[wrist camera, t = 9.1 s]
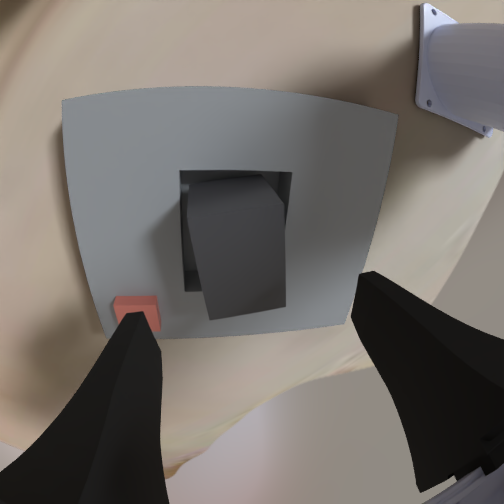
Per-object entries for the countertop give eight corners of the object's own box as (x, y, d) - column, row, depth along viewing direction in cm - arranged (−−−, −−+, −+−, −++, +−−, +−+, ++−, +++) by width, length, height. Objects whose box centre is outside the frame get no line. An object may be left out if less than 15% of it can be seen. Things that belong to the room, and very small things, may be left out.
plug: (257, 169, 15) (283, 203, 10) (263, 251, 17) (285, 307, 13) (189, 178, 14) (186, 218, 10) (204, 260, 17) (209, 320, 13)
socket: (373, 109, 14) (408, 117, 11) (331, 301, 21) (348, 332, 18) (81, 98, 11) (54, 101, 8) (112, 312, 18) (104, 347, 15)
